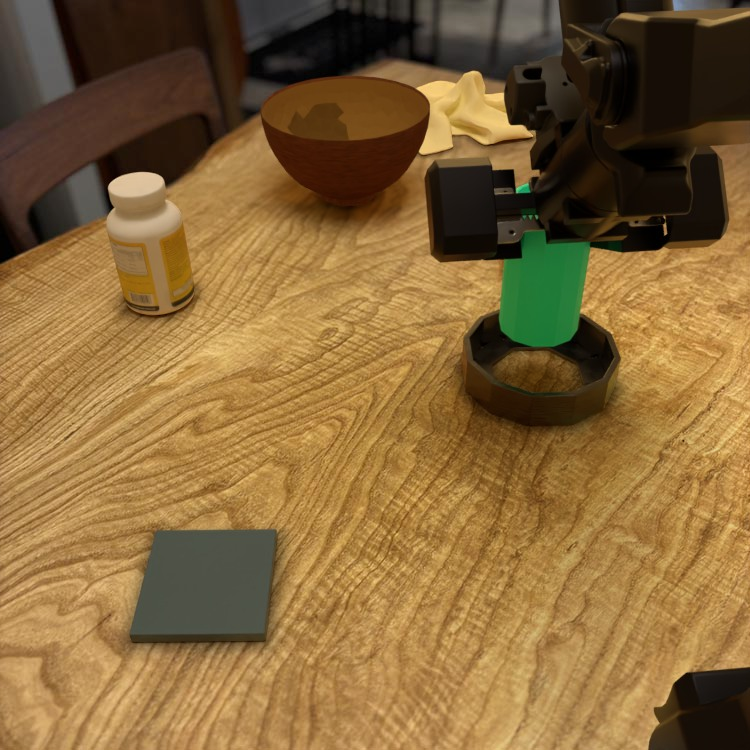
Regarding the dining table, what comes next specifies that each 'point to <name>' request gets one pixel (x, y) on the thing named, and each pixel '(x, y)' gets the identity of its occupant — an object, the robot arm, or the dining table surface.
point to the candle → (543, 289)
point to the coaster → (206, 586)
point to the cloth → (466, 114)
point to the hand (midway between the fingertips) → (542, 239)
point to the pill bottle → (149, 245)
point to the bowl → (346, 134)
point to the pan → (540, 407)
